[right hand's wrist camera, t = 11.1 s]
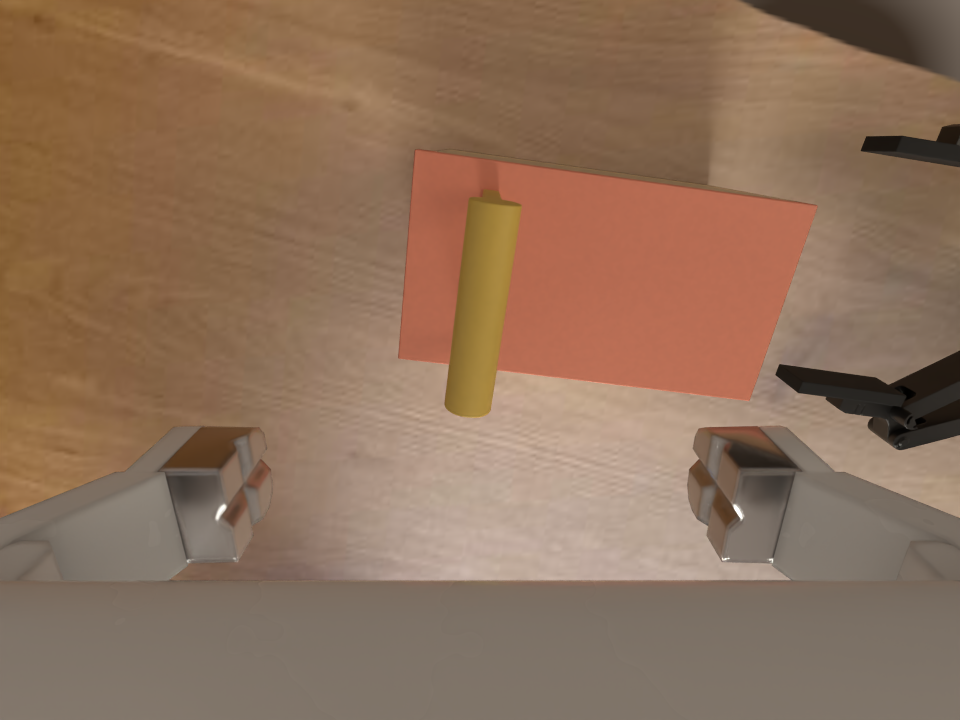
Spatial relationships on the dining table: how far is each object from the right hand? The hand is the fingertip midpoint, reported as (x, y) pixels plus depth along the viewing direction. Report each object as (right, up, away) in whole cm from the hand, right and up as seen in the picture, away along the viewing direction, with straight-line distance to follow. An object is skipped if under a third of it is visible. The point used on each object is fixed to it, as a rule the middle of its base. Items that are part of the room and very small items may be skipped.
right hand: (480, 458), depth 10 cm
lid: (+5, +6, +16) cm, 18 cm away
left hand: (+20, +7, +21) cm, 30 cm away
